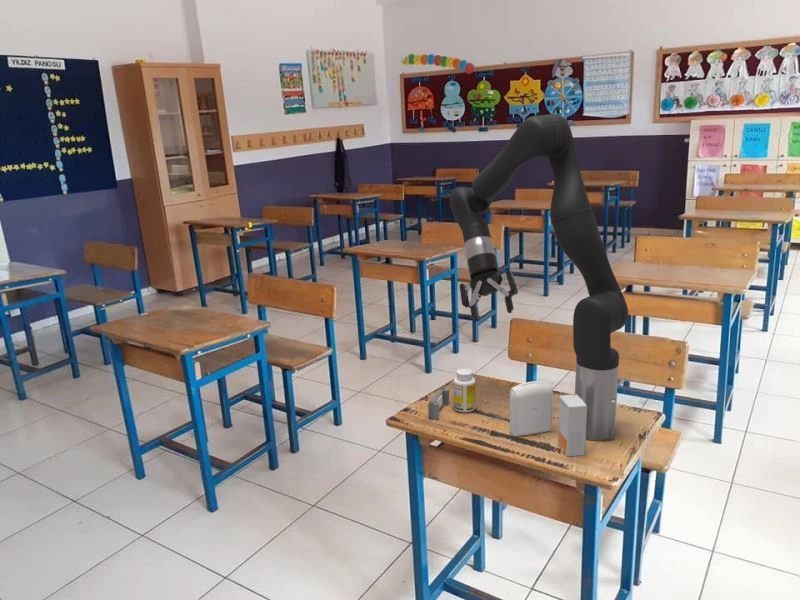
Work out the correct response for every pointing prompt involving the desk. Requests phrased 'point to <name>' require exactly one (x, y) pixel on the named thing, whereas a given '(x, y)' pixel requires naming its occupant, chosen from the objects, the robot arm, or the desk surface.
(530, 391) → the photo printer
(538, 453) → the desk surface
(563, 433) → the skincare box
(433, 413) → the grey bridge block
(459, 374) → the supplement bottle
